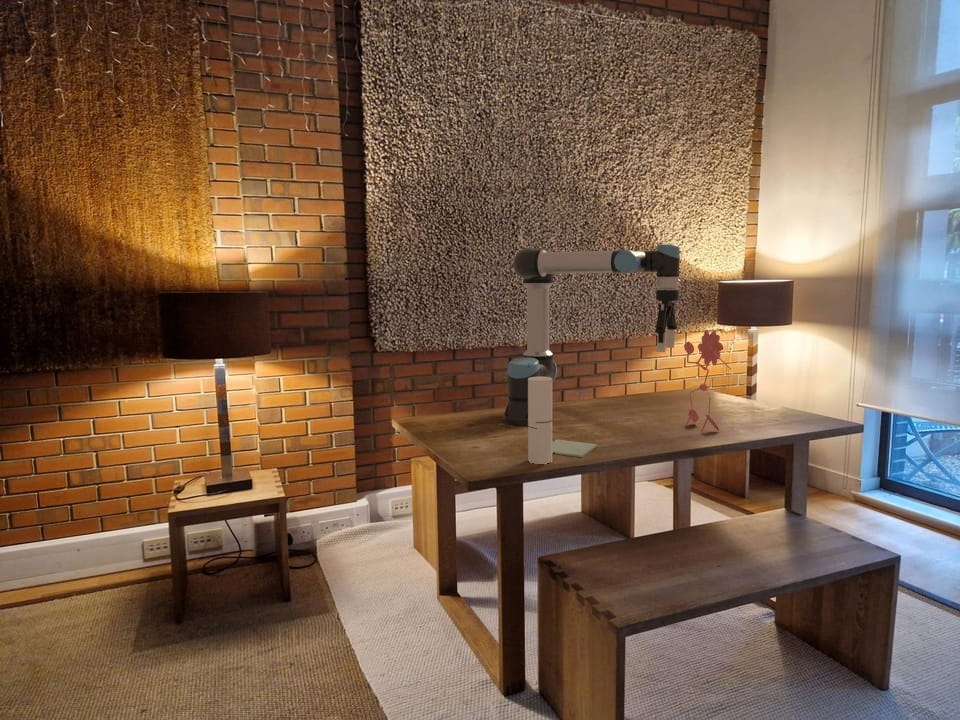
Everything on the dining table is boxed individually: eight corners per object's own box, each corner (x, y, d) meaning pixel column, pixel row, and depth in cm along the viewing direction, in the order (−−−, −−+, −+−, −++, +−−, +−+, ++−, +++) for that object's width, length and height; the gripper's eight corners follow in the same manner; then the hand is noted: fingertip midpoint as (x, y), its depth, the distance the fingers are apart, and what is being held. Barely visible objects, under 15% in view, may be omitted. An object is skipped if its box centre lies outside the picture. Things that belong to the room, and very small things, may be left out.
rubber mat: (539, 451, 200) (539, 449, 200) (556, 441, 213) (556, 439, 213) (582, 457, 194) (582, 455, 194) (597, 446, 206) (597, 444, 206)
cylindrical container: (551, 465, 187) (551, 381, 183) (526, 464, 188) (526, 380, 185) (553, 458, 194) (553, 376, 190) (529, 457, 195) (529, 376, 191)
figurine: (714, 438, 214) (718, 334, 209) (670, 421, 238) (673, 328, 233) (752, 434, 218) (757, 332, 213) (705, 418, 242) (709, 326, 237)
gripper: (670, 290, 210) (668, 354, 213) (685, 288, 231) (683, 346, 234) (647, 290, 213) (645, 353, 216) (664, 288, 235) (663, 345, 238)
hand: (665, 349), depth 225 cm, fingers open, 13 cm apart
